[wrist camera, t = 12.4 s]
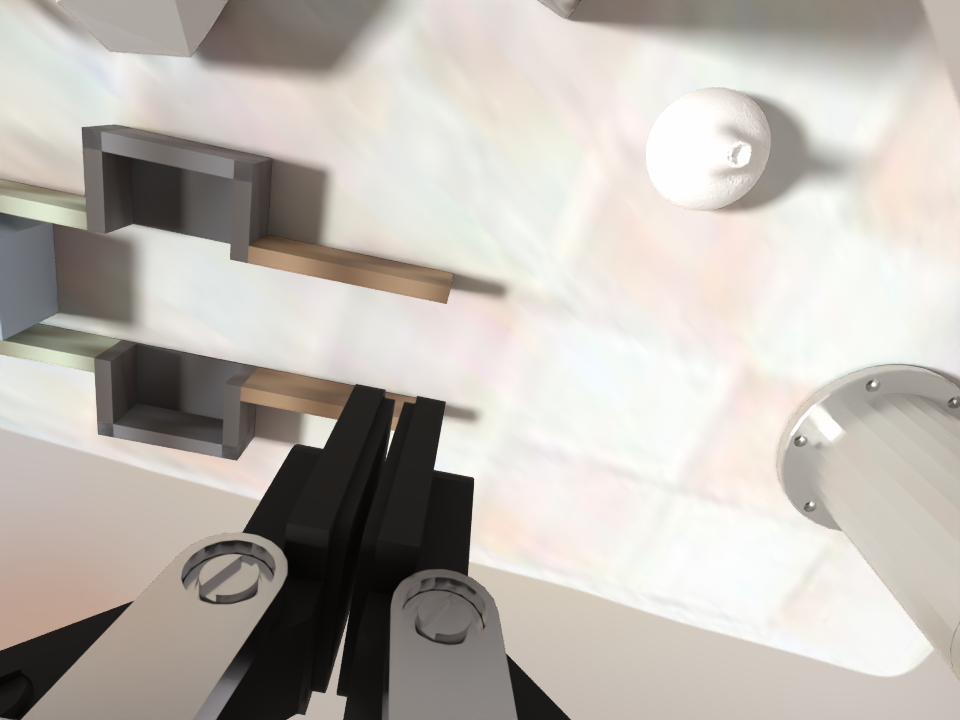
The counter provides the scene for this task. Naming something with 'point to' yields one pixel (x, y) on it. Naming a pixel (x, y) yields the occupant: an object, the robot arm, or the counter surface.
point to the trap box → (244, 224)
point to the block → (26, 273)
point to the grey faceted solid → (147, 23)
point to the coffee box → (561, 6)
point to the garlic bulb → (708, 148)
